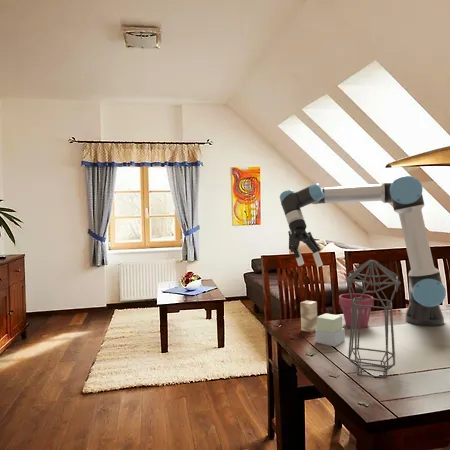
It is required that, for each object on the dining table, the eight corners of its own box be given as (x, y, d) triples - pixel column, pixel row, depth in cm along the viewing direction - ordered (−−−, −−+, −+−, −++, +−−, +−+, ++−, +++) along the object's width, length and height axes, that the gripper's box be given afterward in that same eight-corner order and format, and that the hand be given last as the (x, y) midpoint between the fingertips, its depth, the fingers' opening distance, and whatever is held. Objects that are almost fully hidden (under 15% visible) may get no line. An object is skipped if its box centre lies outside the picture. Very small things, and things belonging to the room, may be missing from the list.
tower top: (342, 328, 146) (342, 315, 146) (333, 333, 141) (333, 319, 141) (326, 325, 151) (325, 313, 151) (317, 329, 146) (316, 317, 146)
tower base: (344, 341, 146) (344, 328, 146) (335, 347, 141) (334, 333, 141) (326, 337, 152) (325, 325, 152) (315, 342, 146) (315, 329, 146)
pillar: (317, 329, 162) (316, 301, 162) (311, 332, 158) (310, 304, 158) (307, 327, 165) (306, 300, 165) (301, 330, 162) (300, 302, 161)
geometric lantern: (347, 359, 128) (347, 256, 127) (398, 366, 122) (398, 258, 121) (343, 378, 113) (343, 262, 112) (401, 386, 107) (401, 264, 106)
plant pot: (374, 322, 170) (373, 293, 170) (374, 331, 157) (373, 300, 157) (341, 319, 175) (340, 292, 175) (338, 328, 162) (337, 299, 162)
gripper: (306, 228, 182) (320, 269, 173) (272, 222, 166) (286, 267, 157) (318, 221, 177) (334, 263, 169) (284, 214, 161) (299, 260, 152)
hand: (311, 265), depth 163 cm, fingers open, 13 cm apart
